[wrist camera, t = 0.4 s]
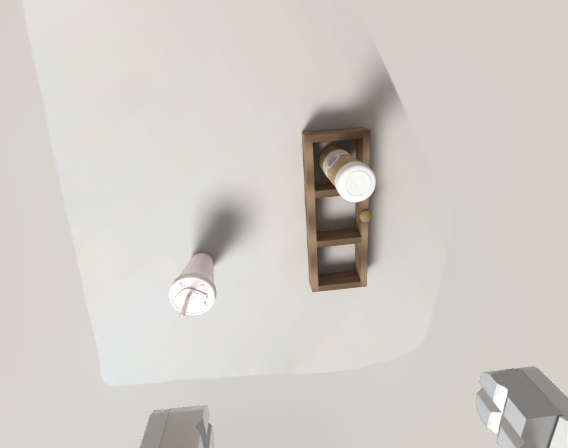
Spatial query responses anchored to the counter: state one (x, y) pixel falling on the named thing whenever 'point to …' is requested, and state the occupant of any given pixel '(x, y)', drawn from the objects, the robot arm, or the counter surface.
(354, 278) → the spice caddy
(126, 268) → the counter surface
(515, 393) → the robot arm
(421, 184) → the counter surface
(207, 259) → the smoothie
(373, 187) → the sprinkles bottle
